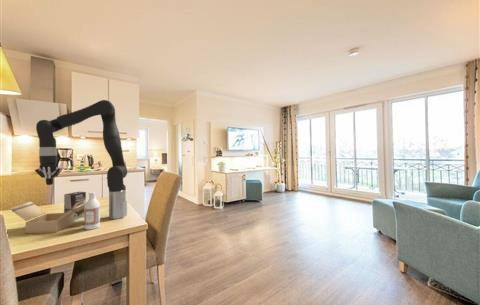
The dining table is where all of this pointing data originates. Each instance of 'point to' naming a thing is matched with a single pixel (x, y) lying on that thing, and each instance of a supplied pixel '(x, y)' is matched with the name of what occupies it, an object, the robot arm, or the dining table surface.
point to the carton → (49, 223)
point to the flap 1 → (27, 211)
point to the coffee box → (75, 203)
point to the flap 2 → (73, 210)
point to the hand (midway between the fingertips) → (49, 184)
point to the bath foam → (92, 212)
